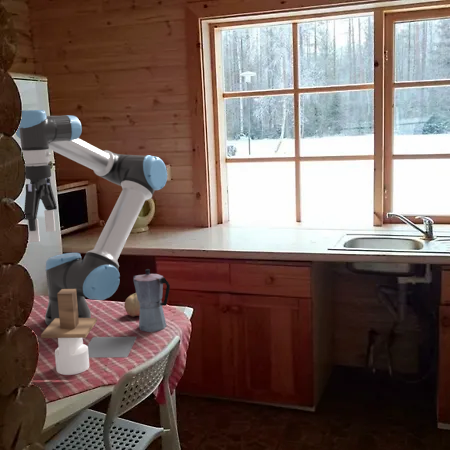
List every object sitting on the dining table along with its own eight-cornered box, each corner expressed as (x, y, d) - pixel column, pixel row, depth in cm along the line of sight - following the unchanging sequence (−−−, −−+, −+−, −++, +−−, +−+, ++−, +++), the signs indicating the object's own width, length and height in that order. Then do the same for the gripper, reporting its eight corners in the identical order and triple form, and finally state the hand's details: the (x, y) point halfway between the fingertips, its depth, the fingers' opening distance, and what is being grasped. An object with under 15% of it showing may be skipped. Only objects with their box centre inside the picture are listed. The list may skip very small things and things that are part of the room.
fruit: (127, 311, 209) (126, 290, 208) (150, 311, 209) (148, 289, 207) (123, 319, 201) (121, 297, 200) (146, 319, 201) (145, 297, 199)
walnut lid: (55, 321, 168) (52, 284, 166) (96, 321, 168) (94, 284, 166) (41, 338, 157) (37, 298, 154) (85, 337, 156) (82, 298, 154)
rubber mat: (93, 338, 186) (93, 337, 185) (137, 338, 185) (137, 336, 185) (79, 359, 171) (79, 357, 171) (127, 359, 170) (127, 357, 170)
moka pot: (144, 319, 201) (141, 263, 197) (181, 327, 193) (179, 268, 189) (126, 329, 193) (122, 270, 189) (164, 337, 185) (161, 276, 181)
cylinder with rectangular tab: (81, 378, 159) (77, 336, 157) (50, 375, 161) (46, 334, 159) (94, 363, 168) (91, 324, 166) (65, 361, 170) (62, 322, 167)
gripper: (33, 169, 157) (40, 246, 161) (62, 159, 181) (68, 227, 186) (6, 169, 157) (14, 246, 162) (39, 160, 182) (45, 227, 186)
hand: (43, 236), depth 174 cm, fingers open, 13 cm apart
